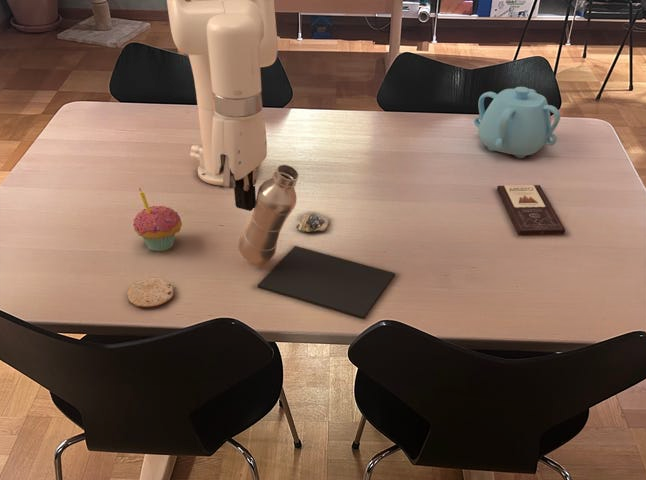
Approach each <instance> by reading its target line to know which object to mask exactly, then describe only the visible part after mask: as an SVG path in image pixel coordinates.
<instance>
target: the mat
mask: <svg viewBox="0 0 646 480" xmlns="http://www.w3.org/2000/svg"><path fill="white" fill-rule="evenodd" d="M395 276H396V273H395V272H392V271H389V270H385V269H382V268H379V267H374V266H371V265H367V264H363V263H359V262H356V261H352V260H348V259H345V258H342V257H338V256H334V255H331V254H327V253H323V252H321V251H320V252H319V251H316V250H312V249H308V248H305V247H300V246H298V245H294V246H293V247H292V248H291V250H290V251H288V252H287V253H286V255H285V256H284V257H283V258H282V259H280V260H279V262H278V263H277V264H276V265H275V266H274V267H273V268H272V269H271V270H270V271H269V273H267V274H266V276H264V278H263V279H261V280H260V281H259V283H258V284H257V288H258V289H262V290H265V291H268V292H271V293H276V294H278V295H282V296H286V297H288V298H292V299H296V300H299V301H302V302H306V303H309V304H312V305H316V306H319V307H322V308H325V309H329V310H333V311H336V312H339V313H342V314H346V315H349V316H352V317H355V318H359V319H362V320H364V319H365V318H366V316H367V315H368V314H369V312H370V311H371V309H372V308H373V306H374V305H375V304H376V302H377V301H378V300H379V298H380V297H381V296H382V294H383V293H384V291H385V290H386V288H387V287H388V286H389V284H390V283H391V281H392V280H393V279H394V277H395Z"/></svg>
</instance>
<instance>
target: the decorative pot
mask: <svg viewBox="0 0 646 480" xmlns="http://www.w3.org/2000/svg"><path fill="white" fill-rule="evenodd" d="M486 98H492V101H491V102H490V104H489V105H488V107H487V108H486V110H485V99H486ZM548 103H549V102H548V100H547V98H546V96H544V95H542V94H540V93H537V91H536V90H535V89H534V88H528V87H526V86H516V87H514V88H506V89H503V90H501V91H500V92H499V93H496V92H494V91H487V92H484V93H482V94H481V95H480V96H479V99H478V103H477V104H478V113H479V115H476V116H475V118H474V119H473V124H474V125H475V127H476V128H478V137H479V139H480V141H481V143H482V144H483V145H484V146H485V147H487V150H489V151H492V152H500V153H504V154H507V155H513V156H514V157H515V158H517V159H518V158H519V159H522V158H525V157H526V156H531V155H534V154H536V153H537V152H538V151H539V150H540V149H542V147H544V145H546V146H549V147H550V146H554V145H555V144H556V143H557V142H558V137H557V135H556V134H554V133H553V132H554V131H555V130H556V128H557V126H558V125H559V123H560V120H561V113H560V111H559V109H558V108H557V107H556V106H554V105H551V104H548ZM551 113H552V114H553V116H554V120H553V123H552V117H551ZM550 138H551V139H552V140H551V139H550Z"/></svg>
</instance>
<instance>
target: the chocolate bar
mask: <svg viewBox="0 0 646 480" xmlns="http://www.w3.org/2000/svg"><path fill="white" fill-rule="evenodd" d="M496 191H497V193H498V195H499V197H500V199H501V201H502V204H503V206H504V207H505V210H506V213H507V214H508V216H509V218H510V220H511V222H512V224H513V227H514V229H515V231H516V233H517V235H518V236H542V235H543V236H546V235H547V236H548V235H549V236H550V235H565V233H566V228H565V226H564V224H563V223H562V221H561V219H560V218H559V216H558V214H557V212H556V210H555V208H554V207H553V205H552V204H551V202H550V200H549V198H548V196H547V195H546V193H545V191H544V190H543V187H542V186H541V185H540V184H525V185H524V184H523V185H522V184H521V185H519V184H518V185H517V184H516V185H513V184H512V185H497V187H496Z"/></svg>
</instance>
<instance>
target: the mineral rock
mask: <svg viewBox="0 0 646 480" xmlns="http://www.w3.org/2000/svg"><path fill="white" fill-rule="evenodd" d="M329 223H330V220H329V219H328V218H326V217H324V216H322V215H319V214H316V213H308V214H304V215H302V218H301V219H299V221H297V225H296V229H297V230H299V231H300V232H302V233H303V232H306V233H310V232H317V231H322V232H324V231H326V229H327V228H328V226H329Z"/></svg>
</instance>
